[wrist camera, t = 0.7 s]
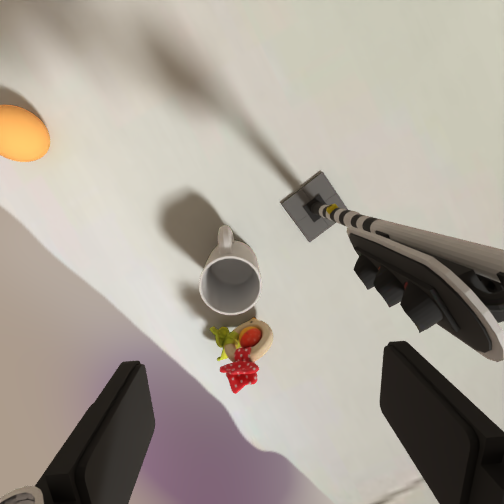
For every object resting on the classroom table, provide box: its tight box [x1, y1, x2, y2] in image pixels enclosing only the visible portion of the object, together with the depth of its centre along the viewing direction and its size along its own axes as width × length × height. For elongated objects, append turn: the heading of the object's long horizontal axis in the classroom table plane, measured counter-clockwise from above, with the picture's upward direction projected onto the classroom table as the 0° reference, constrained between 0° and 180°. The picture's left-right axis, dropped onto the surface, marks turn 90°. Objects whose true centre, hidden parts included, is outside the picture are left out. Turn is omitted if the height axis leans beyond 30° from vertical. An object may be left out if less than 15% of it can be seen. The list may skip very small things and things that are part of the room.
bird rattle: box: [210, 318, 273, 394], centre depth 36 cm, size 6×11×9 cm
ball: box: [0, 105, 50, 162], centre depth 30 cm, size 6×6×6 cm
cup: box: [199, 225, 262, 315], centre depth 33 cm, size 7×10×9 cm
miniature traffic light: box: [282, 172, 504, 362], centre depth 22 cm, size 8×8×30 cm
